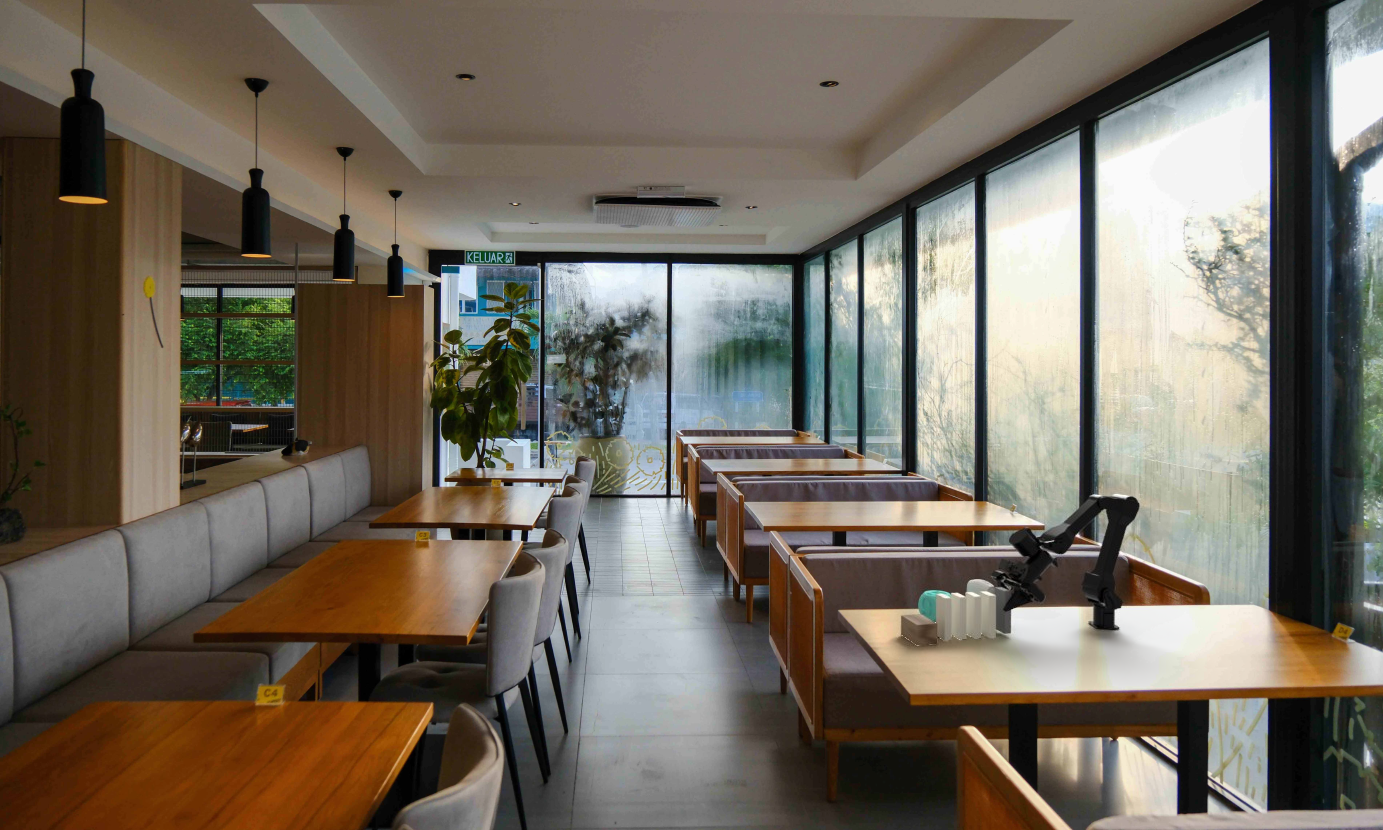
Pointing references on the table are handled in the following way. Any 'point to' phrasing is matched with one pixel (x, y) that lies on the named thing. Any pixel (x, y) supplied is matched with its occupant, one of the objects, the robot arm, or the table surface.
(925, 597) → the decorative dice
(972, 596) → the ivory domino
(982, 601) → the ivory domino
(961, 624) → the ivory domino
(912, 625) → the walnut end block
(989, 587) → the white rounded block
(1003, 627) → the charcoal domino
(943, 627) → the ivory domino
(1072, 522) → the robot arm
